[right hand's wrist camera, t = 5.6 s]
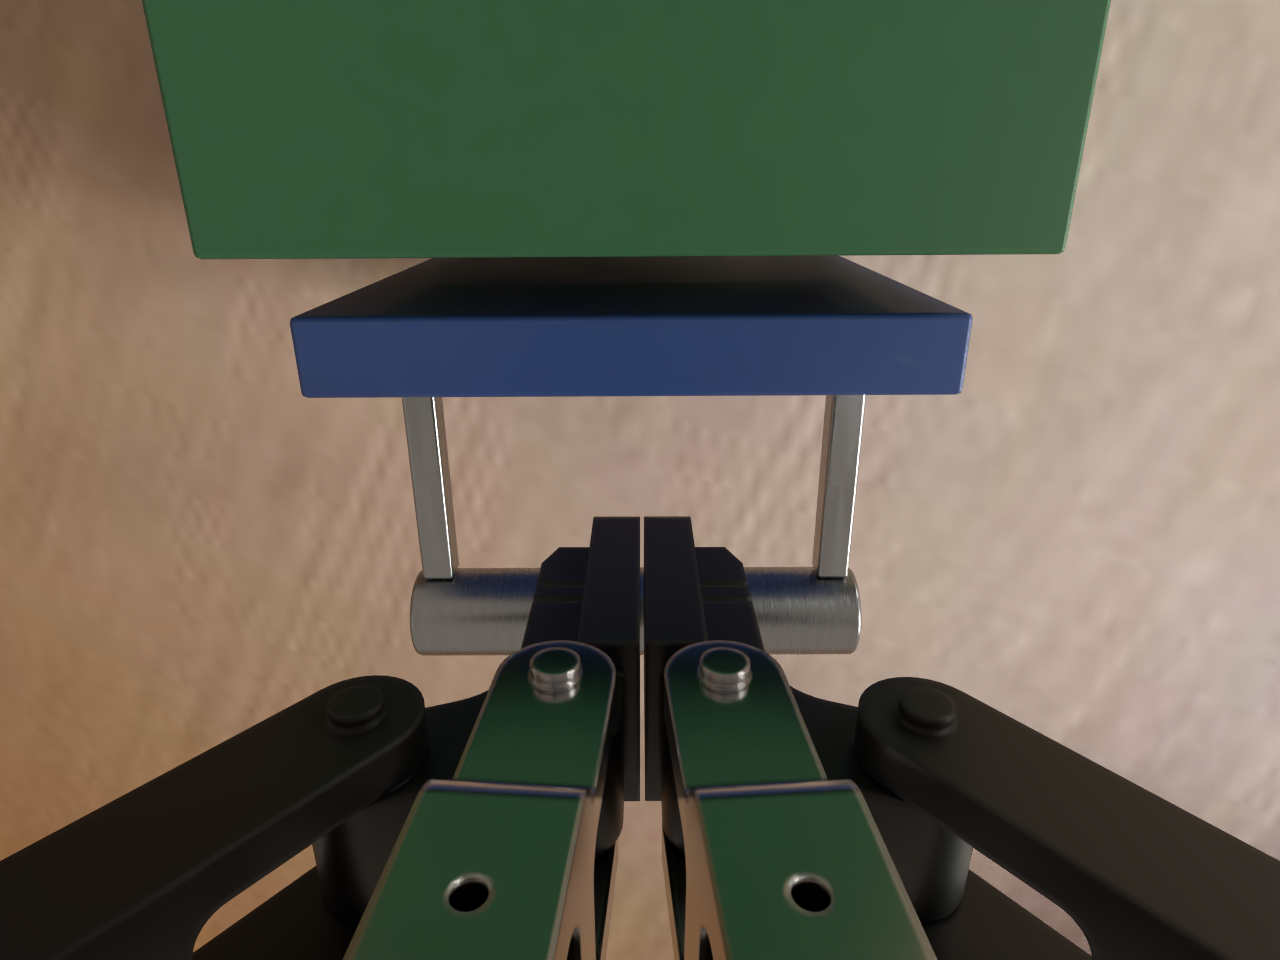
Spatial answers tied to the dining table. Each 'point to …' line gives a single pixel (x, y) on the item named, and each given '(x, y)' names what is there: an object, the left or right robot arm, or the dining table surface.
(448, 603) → the drawer
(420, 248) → the cabinet
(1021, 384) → the dining table surface
